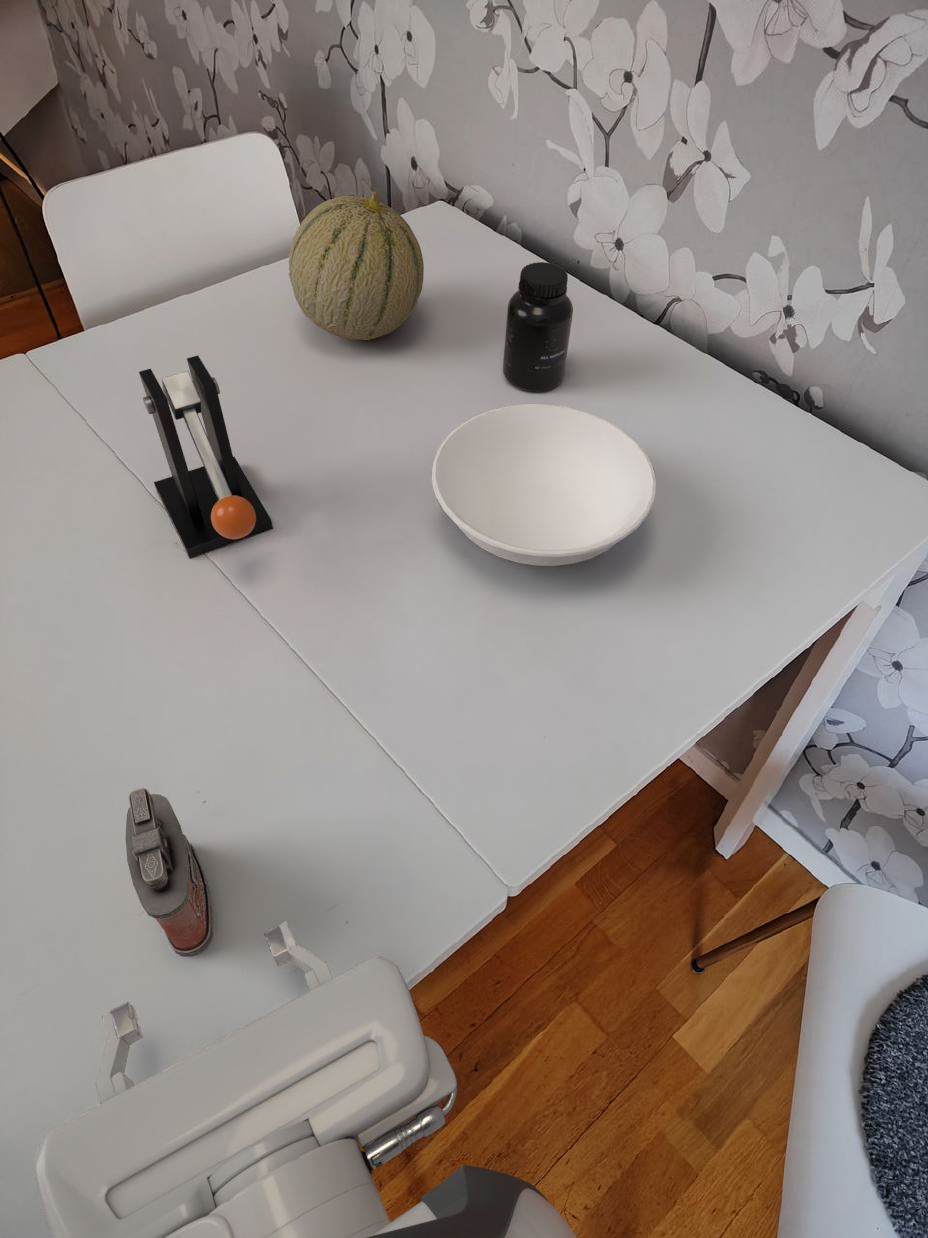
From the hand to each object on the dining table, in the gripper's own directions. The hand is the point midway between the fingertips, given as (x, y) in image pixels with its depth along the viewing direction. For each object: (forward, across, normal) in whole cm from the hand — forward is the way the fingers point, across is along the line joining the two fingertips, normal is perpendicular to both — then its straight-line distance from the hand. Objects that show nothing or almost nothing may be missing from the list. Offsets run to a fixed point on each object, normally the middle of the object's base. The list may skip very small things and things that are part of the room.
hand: (199, 969), depth 50 cm
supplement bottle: (+46, -52, +6) cm, 70 cm away
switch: (+38, -14, -3) cm, 41 cm away
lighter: (+7, 0, +6) cm, 9 cm away
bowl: (+26, -40, +6) cm, 48 cm away
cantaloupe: (+63, -39, +6) cm, 74 cm away
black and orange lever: (+42, -14, +6) cm, 45 cm away
